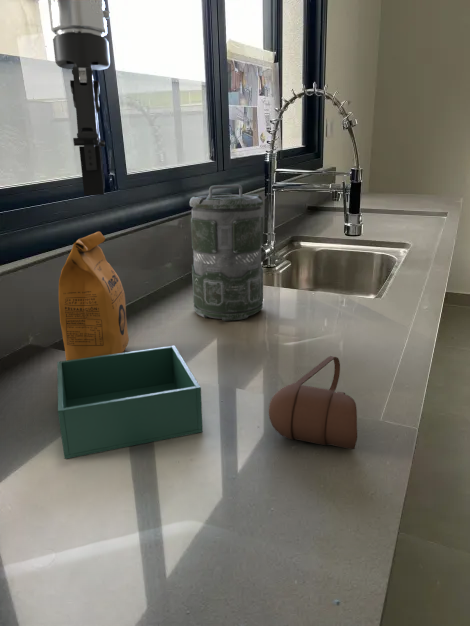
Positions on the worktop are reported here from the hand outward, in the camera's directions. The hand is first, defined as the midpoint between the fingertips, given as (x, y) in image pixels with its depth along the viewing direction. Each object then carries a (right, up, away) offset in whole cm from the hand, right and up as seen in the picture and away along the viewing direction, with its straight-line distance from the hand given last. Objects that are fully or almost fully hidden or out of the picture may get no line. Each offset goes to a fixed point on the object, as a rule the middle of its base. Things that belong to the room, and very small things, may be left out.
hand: (95, 191), depth 76 cm
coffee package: (-2, -27, +12) cm, 30 cm away
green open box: (+7, -33, -7) cm, 35 cm away
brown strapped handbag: (+34, -33, -9) cm, 48 cm away
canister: (+20, -18, +37) cm, 46 cm away
